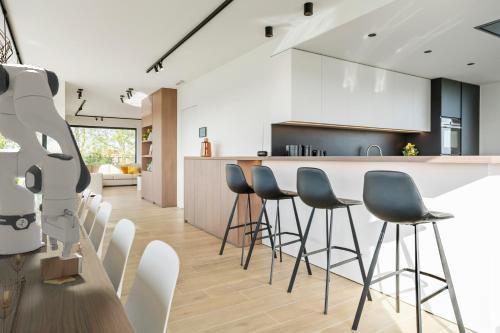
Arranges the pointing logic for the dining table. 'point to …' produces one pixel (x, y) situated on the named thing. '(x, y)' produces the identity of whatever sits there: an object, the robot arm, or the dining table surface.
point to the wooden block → (60, 266)
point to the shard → (61, 280)
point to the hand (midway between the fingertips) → (59, 253)
